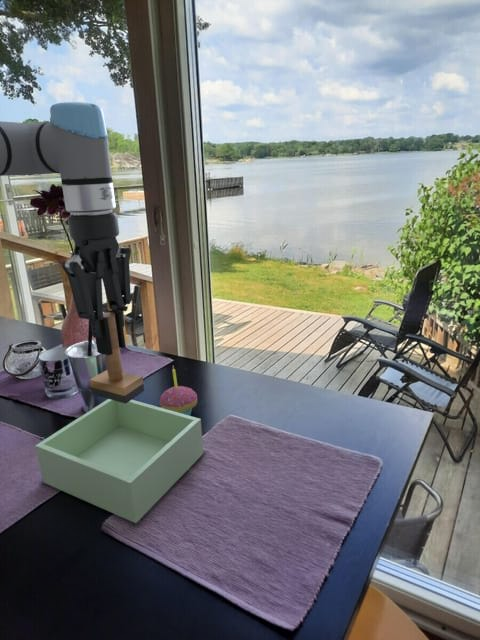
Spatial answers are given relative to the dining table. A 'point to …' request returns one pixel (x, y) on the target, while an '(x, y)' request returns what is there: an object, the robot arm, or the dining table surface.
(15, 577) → the dining table surface
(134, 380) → the wooden stamp
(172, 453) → the tub
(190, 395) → the cupcake
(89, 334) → the tall metal cup
